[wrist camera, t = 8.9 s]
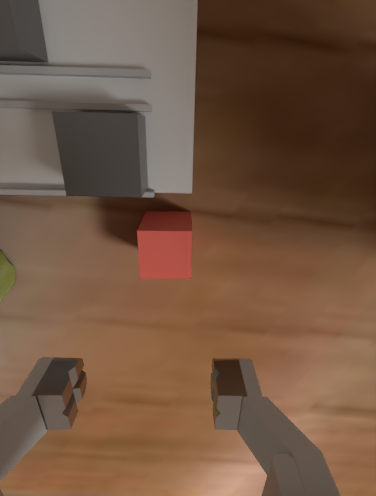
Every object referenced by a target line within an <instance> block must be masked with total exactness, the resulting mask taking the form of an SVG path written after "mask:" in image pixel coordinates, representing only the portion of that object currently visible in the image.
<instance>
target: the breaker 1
mask: <svg viewBox="0 0 376 496" xmlns="http://www.w3.org/2000/svg"><path fill="white" fill-rule="evenodd" d="M0 61H14V62H47V63H49V62H48V56H47V50H46V44H45V38H44V32H43V26H42V20H41V14H40V8H39V2H38V0H0Z"/></svg>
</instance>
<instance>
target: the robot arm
mask: <svg viewBox="0 0 376 496" xmlns="http://www.w3.org/2000/svg"><path fill="white" fill-rule="evenodd" d="M83 366H84V363H83V359H81V358H56V357H55V358H50V357H42V358H41V359H40V360H38V362H37V363H36V365H35V367H34V368H33V370H32V371H31V373H30V374H29V376H28V378H27V379H26V381H25V382H24V384H23V385H22V387H21V389H20V390H19V392H18V393H17V395H16V396H11V397H10V398H8V399H7V400H6V401H4V402H3V403H1V404H0V481H1V480H2V478H3V477H4V476H5V475H6V474H7V473H8V472H9V471H10V470H11V469H12V468H13V467H14V466H15V465H16V464H17V463H18V462H19V461H20V459H21V458H22V457H23V456H24V455H25V454H26V453H27V452H28V451H29V450H30V449H31V448H32V447H33V446H34V445H35V444H36V443H37V442H38V440H39V439H40V438H41V437H42V436H43V435H44V434H45V433H46V432H47V430H61V429H71V428H72V425H73V422H74V420H75V417H76V415H77V412H78V409H77V404H78V403H79V402H80V401H81V400H82V399H83V396H84V393H85V389H86V384H87V378H86V373H85V372H84V371H83V370H82V369H83ZM211 398H212V401H213V402H214V403H213V417H214V426H215V429H224V430H238V432H239V434H240V435H241V437H242V438H243V440H244V441H245V443H246V444H247V446H248V447H249V449H250V450H251V452H252V453H253V455H254V456H255V458H256V459H257V460H258V462H259V463H260V465H261V466H262V468H263V469H264V471H265V472H266V474H267V479H266V482H265V486H264V490H263V493H262V496H340V494H339V492H338V489H337V487H336V485H335V482H334V480H333V477H332V475H331V473H330V470H329V468H328V466H327V463H326V461H325V459H324V456H323V454H322V452H321V451H320V450H319V449H318V448H317V447H316V446H315V445H314V444H313V443H312V442H311V441H310V440H309V439H308V438H307V437H306V436H305V435H304V434H303V433H302V432H301V431H300V430H299V429H298V428H297V427H296V426H295V425H294V424H293V423H292V422H291V421H290V420H289V419H288V418H287V417H286V416H285V415H284V414H283V413H282V412H281V411H280V410H279V409H278V408H277V407H276V406H275V405H274V404H273V403H272V402H271V401H270V400H269V399H268V398H267V397H263V396H262V393H261V390H260V386H259V383H258V379H257V376H256V373H255V369H254V366H253V363H252V360H251V359H237V358H231V359H213V360H212V373H211ZM0 496H4V495H3V494H2V492H1V490H0Z"/></svg>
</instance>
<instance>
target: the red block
mask: <svg viewBox="0 0 376 496" xmlns="http://www.w3.org/2000/svg"><path fill="white" fill-rule="evenodd" d="M137 239H138V254H139V269H140V278H142V279H191V265H192V220H191V212H181V211H146V212H145V214H144V216H143V219H142V221H141V223H140V225H139V227H138V230H137Z"/></svg>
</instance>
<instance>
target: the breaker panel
mask: <svg viewBox="0 0 376 496" xmlns="http://www.w3.org/2000/svg"><path fill="white" fill-rule="evenodd" d="M38 2H39V8H40V14H41V20H42V26H43V32H44V38H45V44H46V50H47V56H48V62H49V63H47V62H14V61H0V194H1V195H52V196H66V191H65V185H64V180H63V174H62V168H61V162H60V156H59V151H58V145H57V139H56V133H55V127H54V122H53V116H52V111H57V112H94V113H132V114H140V115H143V116H145V126H146V151H147V175H148V188H147V189H146V191H145V193H144V194H143V196H142V197H154V196H155V193H192V176H193V142H194V108H195V74H196V40H197V6H198V0H38Z"/></svg>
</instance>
